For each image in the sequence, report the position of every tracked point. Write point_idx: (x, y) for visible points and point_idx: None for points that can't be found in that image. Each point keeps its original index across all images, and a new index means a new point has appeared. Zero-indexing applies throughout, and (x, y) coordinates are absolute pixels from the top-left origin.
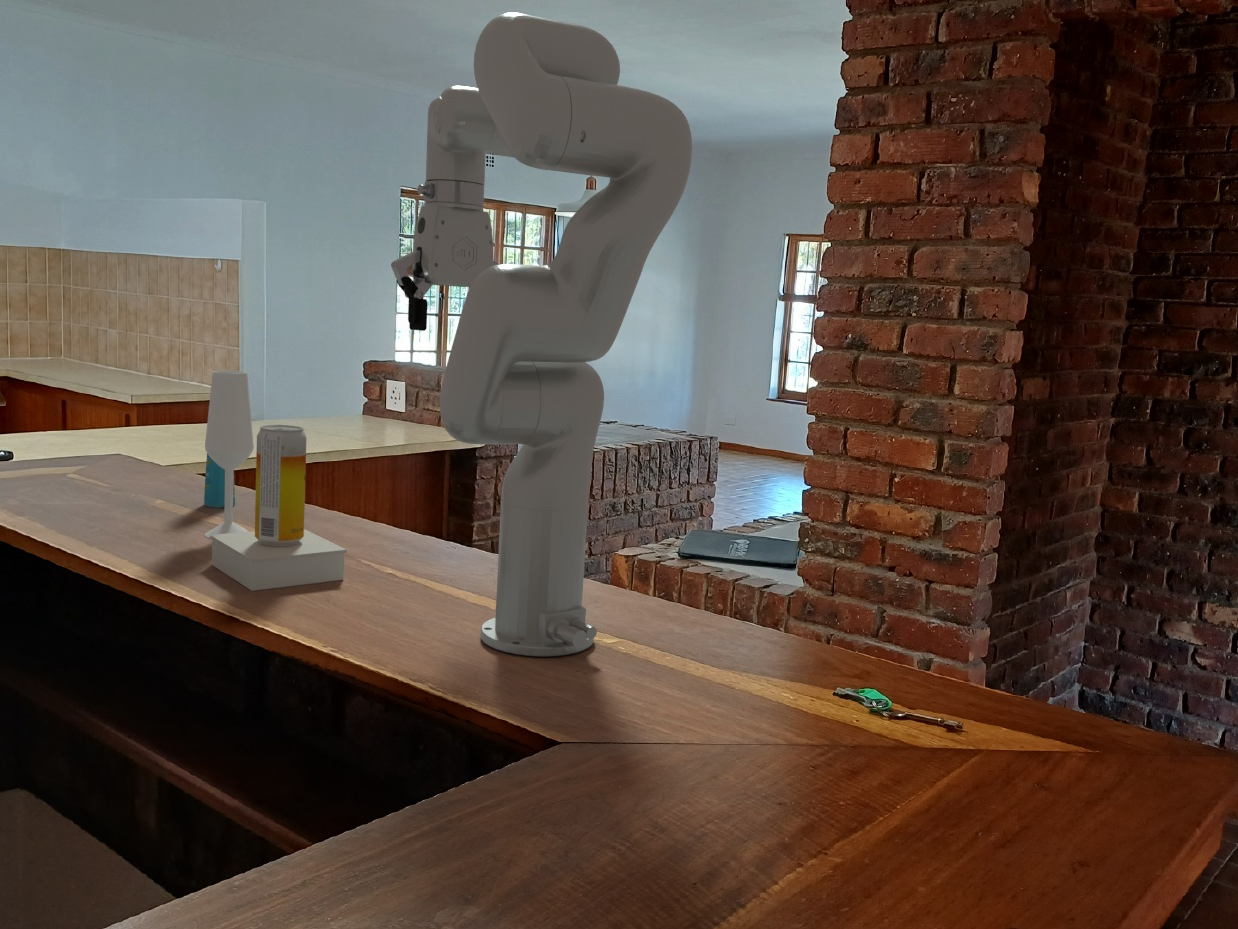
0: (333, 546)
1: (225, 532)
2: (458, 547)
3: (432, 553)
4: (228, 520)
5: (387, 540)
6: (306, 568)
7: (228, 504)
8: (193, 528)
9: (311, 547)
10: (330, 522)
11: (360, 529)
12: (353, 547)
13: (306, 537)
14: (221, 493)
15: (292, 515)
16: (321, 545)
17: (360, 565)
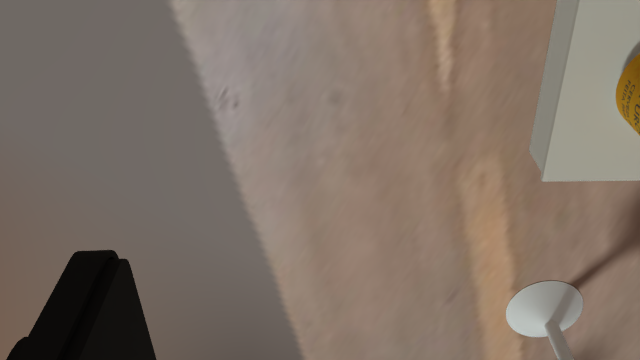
0: (592, 3)
1: (564, 300)
2: (214, 96)
3: (289, 73)
4: (556, 323)
5: (321, 192)
6: None
7: (566, 345)
8: None
9: (635, 14)
10: (349, 328)
11: (326, 274)
12: (406, 169)
13: (588, 98)
14: None
15: None
16: (607, 21)
17: (470, 44)
